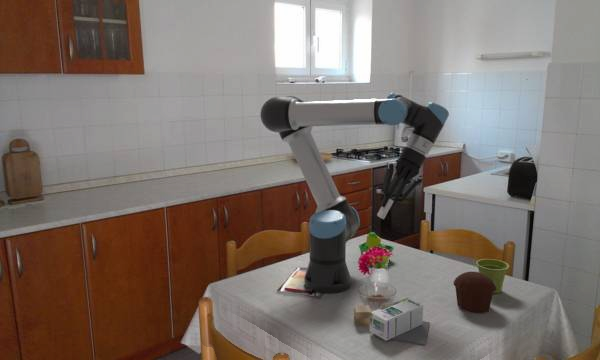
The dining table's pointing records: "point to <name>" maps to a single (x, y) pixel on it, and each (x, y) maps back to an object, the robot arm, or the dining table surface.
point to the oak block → (362, 315)
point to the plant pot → (493, 271)
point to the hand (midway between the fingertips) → (380, 217)
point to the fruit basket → (373, 243)
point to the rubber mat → (414, 335)
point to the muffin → (474, 292)
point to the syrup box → (396, 318)
